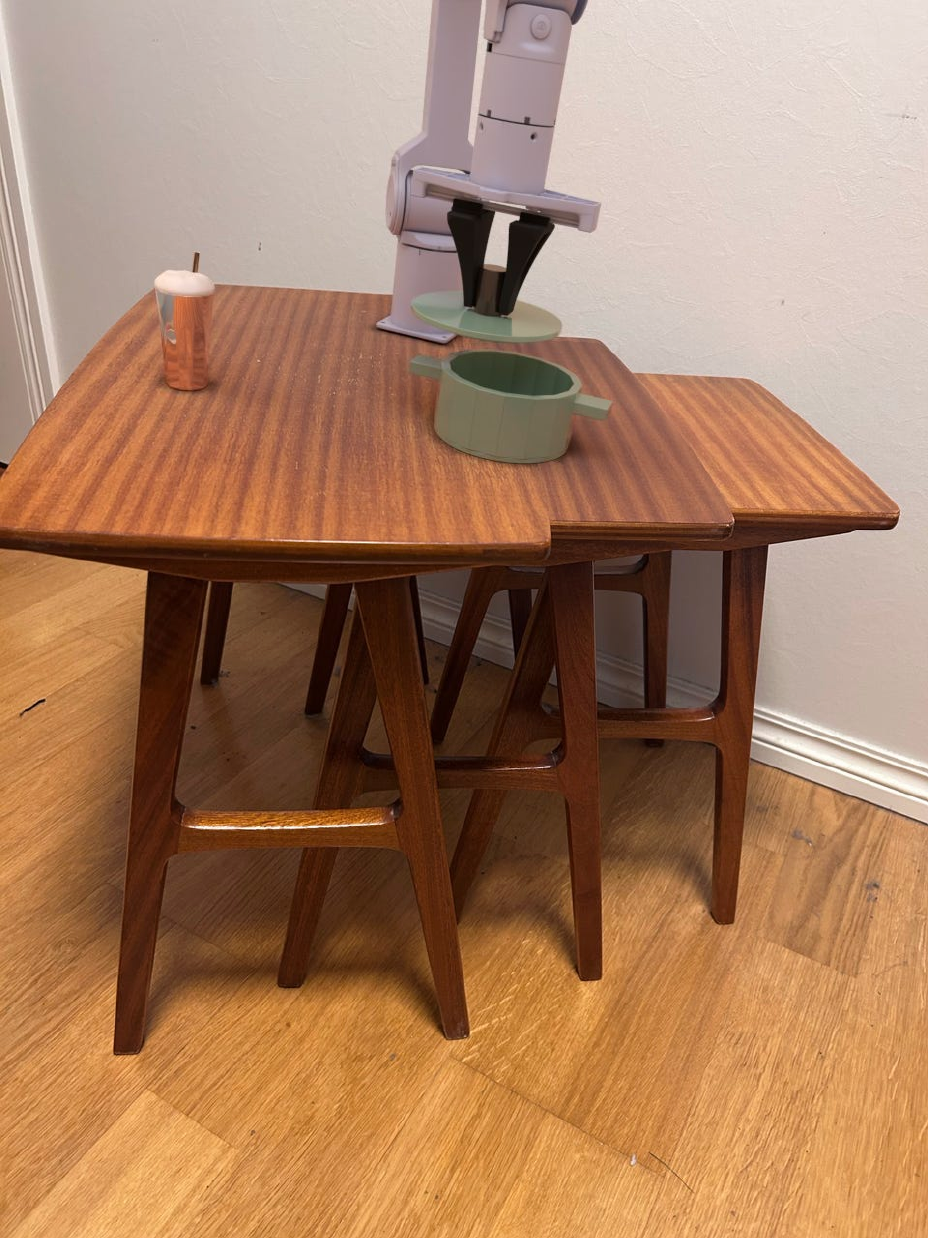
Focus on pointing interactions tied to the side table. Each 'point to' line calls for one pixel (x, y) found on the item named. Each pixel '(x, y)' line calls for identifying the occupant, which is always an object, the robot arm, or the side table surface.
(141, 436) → the side table surface
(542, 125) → the robot arm
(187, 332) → the milkshake
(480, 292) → the pot lid
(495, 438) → the green cooking pot
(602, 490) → the side table surface
